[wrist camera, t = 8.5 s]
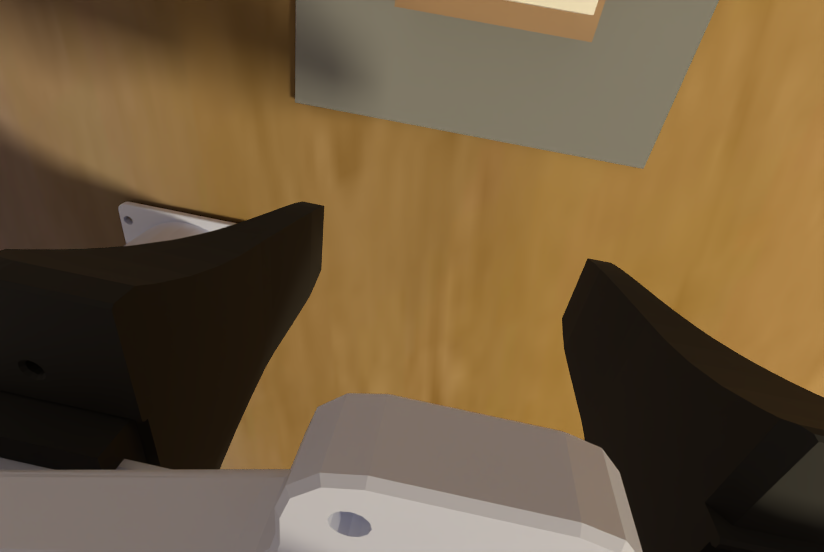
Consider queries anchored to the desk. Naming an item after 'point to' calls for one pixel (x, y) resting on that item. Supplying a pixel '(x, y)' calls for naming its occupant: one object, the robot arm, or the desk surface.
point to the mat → (504, 73)
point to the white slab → (564, 5)
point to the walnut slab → (514, 15)
